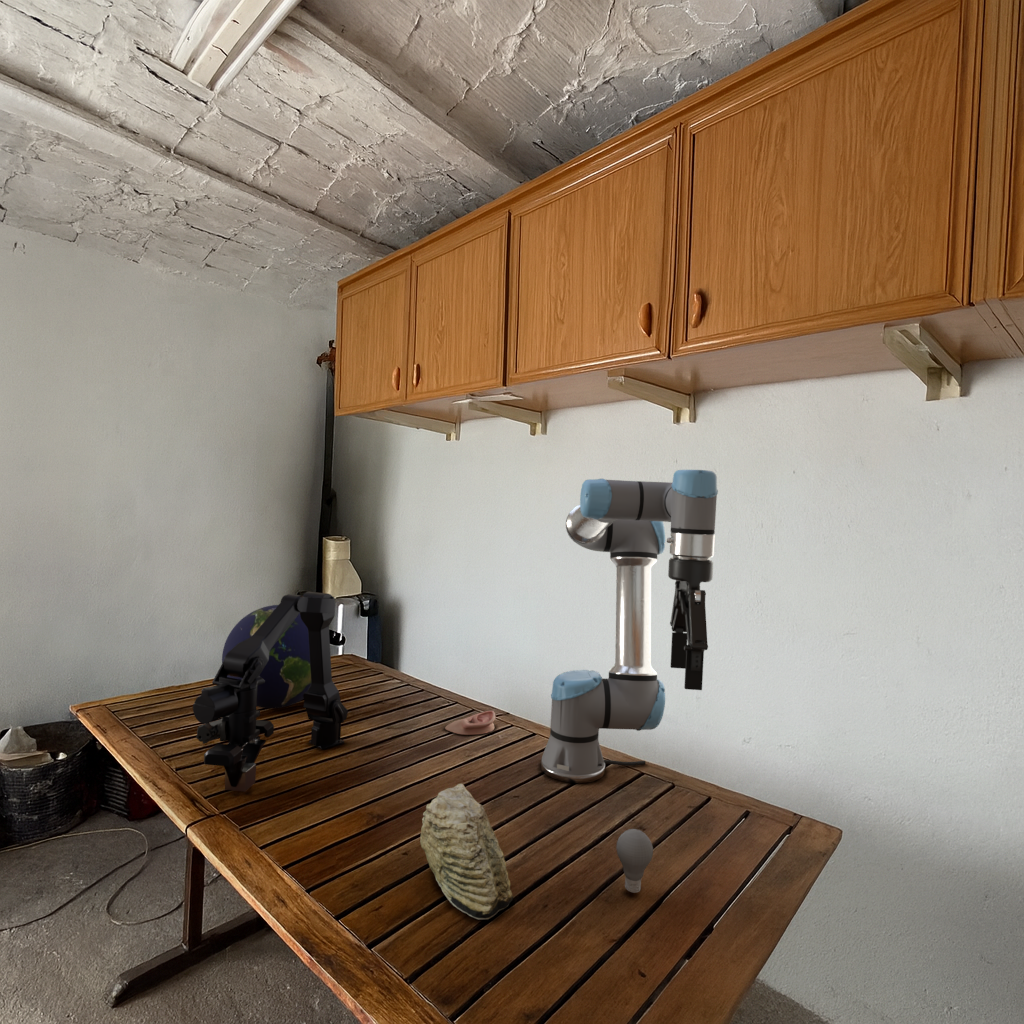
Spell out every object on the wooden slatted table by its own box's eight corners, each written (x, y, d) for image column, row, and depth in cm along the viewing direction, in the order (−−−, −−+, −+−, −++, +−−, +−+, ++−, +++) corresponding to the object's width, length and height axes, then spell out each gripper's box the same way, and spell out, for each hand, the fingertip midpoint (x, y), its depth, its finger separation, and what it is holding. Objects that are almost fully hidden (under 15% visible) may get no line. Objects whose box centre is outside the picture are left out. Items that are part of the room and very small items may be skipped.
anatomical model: (442, 717, 173) (454, 704, 184) (441, 732, 173) (453, 718, 184) (489, 723, 170) (498, 710, 181) (488, 738, 170) (498, 723, 181)
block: (235, 780, 138) (235, 761, 137) (255, 782, 137) (256, 763, 137) (224, 790, 133) (225, 770, 133) (245, 791, 133) (246, 771, 133)
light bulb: (610, 879, 108) (613, 822, 108) (644, 879, 109) (647, 822, 109) (619, 902, 102) (622, 840, 102) (655, 901, 103) (658, 840, 103)
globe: (289, 685, 209) (292, 594, 208) (348, 705, 191) (352, 606, 191) (199, 706, 185) (203, 604, 184) (258, 732, 167) (262, 619, 167)
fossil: (447, 853, 114) (450, 771, 114) (521, 902, 101) (525, 809, 101) (406, 873, 108) (410, 785, 107) (480, 928, 95) (484, 828, 94)
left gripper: (228, 693, 145) (226, 760, 145) (179, 721, 126) (177, 798, 127) (275, 696, 144) (273, 764, 144) (233, 725, 125) (230, 803, 126)
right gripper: (658, 551, 124) (653, 658, 124) (682, 563, 99) (676, 698, 100) (697, 553, 123) (692, 661, 124) (731, 565, 99) (725, 701, 99)
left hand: (239, 781), depth 135 cm, fingers closed on block, 4 cm apart
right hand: (685, 678), depth 112 cm, fingers open, 13 cm apart
